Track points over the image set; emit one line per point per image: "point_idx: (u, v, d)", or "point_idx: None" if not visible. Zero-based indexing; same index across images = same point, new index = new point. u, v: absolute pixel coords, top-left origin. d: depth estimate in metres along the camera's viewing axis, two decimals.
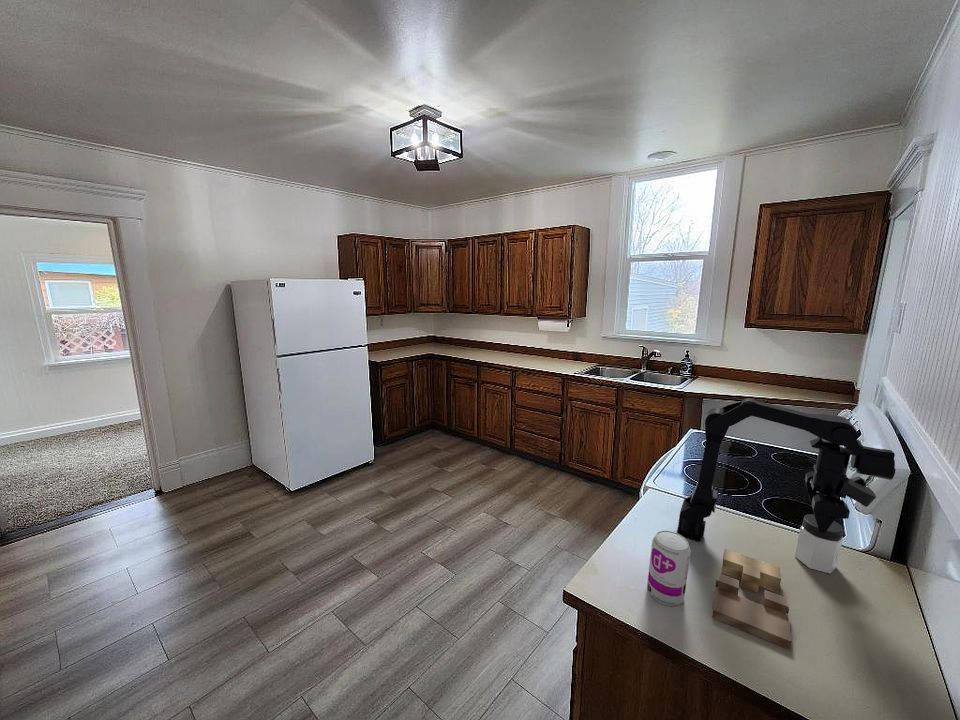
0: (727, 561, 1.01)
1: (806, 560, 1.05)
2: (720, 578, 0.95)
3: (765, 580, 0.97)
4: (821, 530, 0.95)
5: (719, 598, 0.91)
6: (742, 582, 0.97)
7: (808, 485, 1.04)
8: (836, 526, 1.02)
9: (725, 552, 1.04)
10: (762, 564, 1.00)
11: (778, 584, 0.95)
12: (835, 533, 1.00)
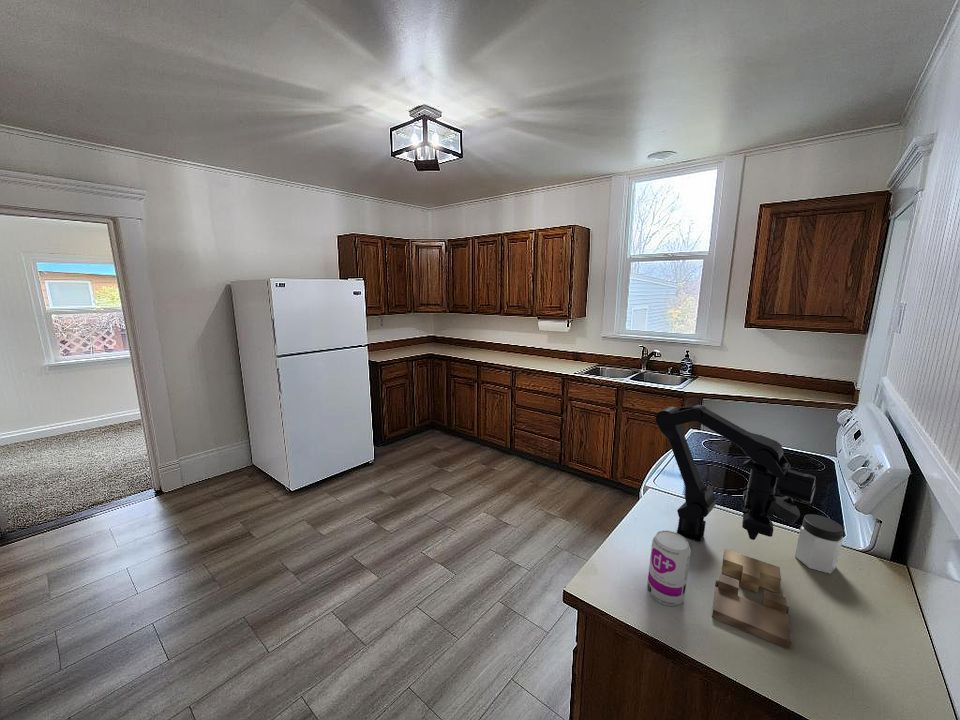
0: (727, 561, 1.01)
1: (806, 560, 1.05)
2: (720, 578, 0.95)
3: (765, 580, 0.97)
4: (751, 537, 1.05)
5: (719, 598, 0.91)
6: (742, 582, 0.97)
7: (744, 510, 1.07)
8: (836, 526, 1.02)
9: (725, 552, 1.04)
10: (762, 564, 1.00)
11: (778, 584, 0.95)
12: (835, 533, 1.00)
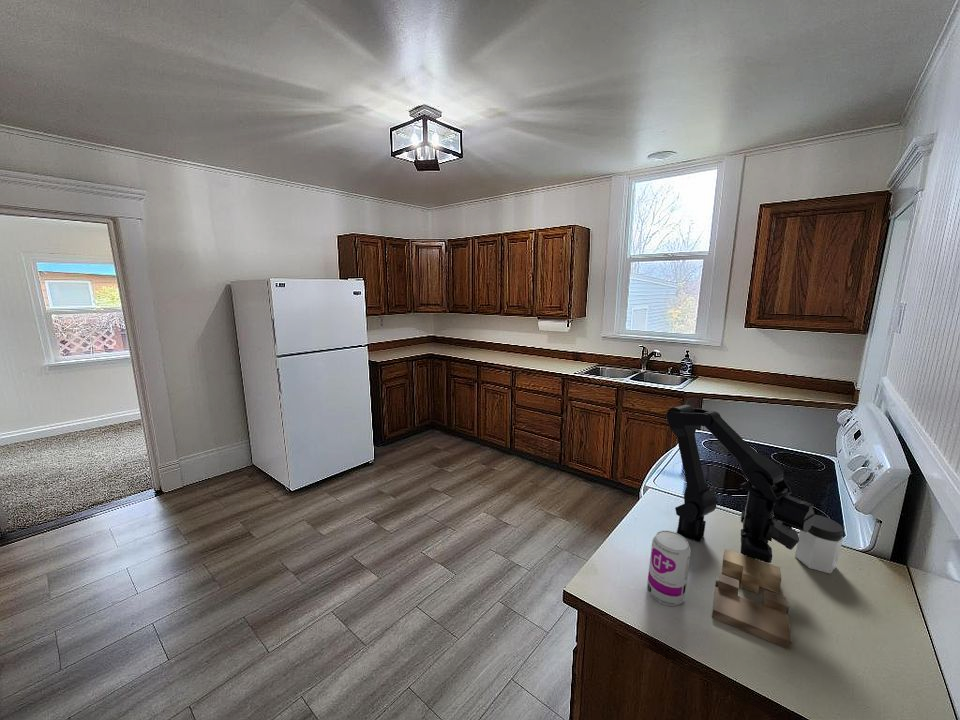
0: (727, 562, 1.01)
1: (806, 560, 1.05)
2: (720, 578, 0.95)
3: (766, 580, 0.96)
4: None
5: (719, 598, 0.91)
6: (742, 583, 0.97)
7: (742, 533, 1.05)
8: (836, 526, 1.02)
9: (725, 552, 1.04)
10: (762, 564, 0.99)
11: (778, 584, 0.95)
12: (835, 533, 1.00)
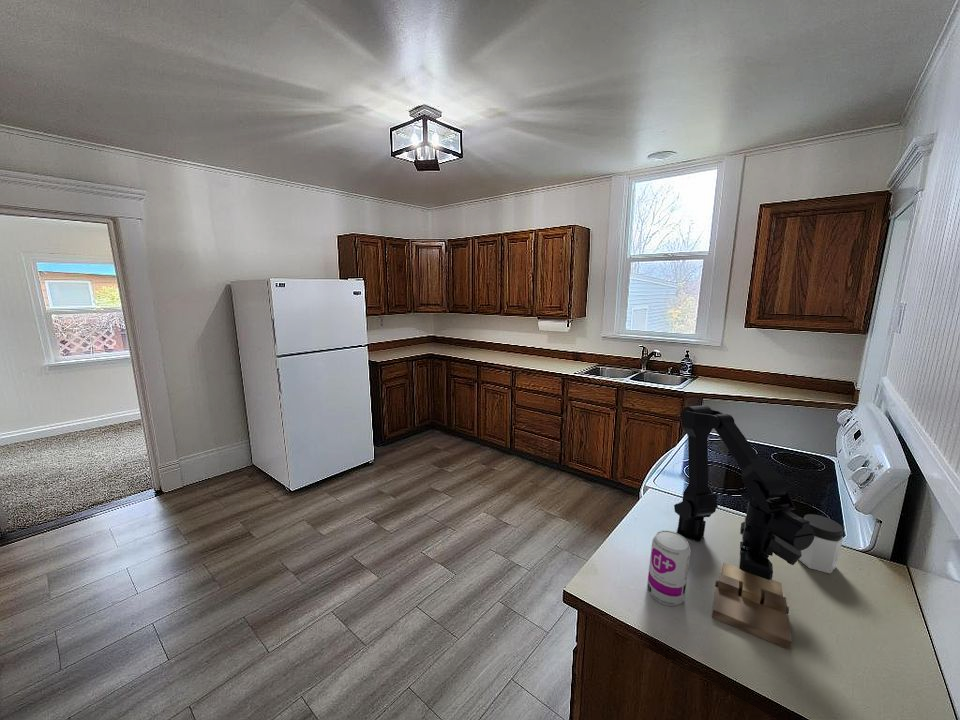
0: None
1: (806, 560, 1.05)
2: (720, 578, 0.95)
3: None
4: None
5: (719, 598, 0.91)
6: None
7: (742, 546, 0.99)
8: (836, 526, 1.02)
9: (724, 566, 0.98)
10: (763, 580, 0.94)
11: None
12: (835, 533, 1.00)
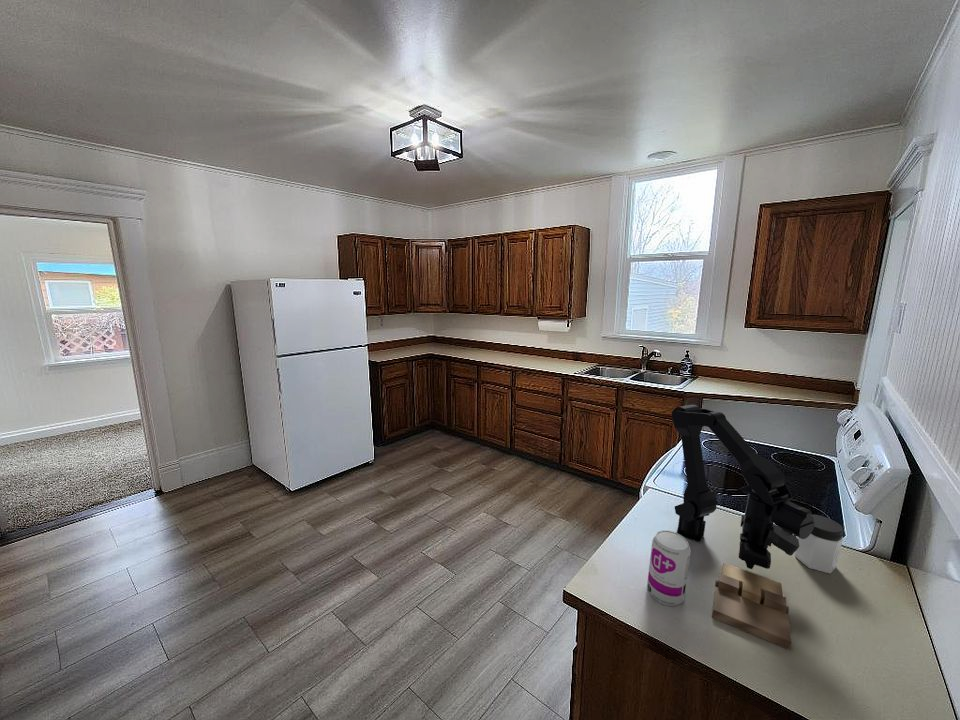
0: None
1: (806, 560, 1.05)
2: (720, 578, 0.95)
3: None
4: (748, 566, 1.01)
5: (719, 598, 0.91)
6: None
7: (742, 537, 1.03)
8: (836, 526, 1.02)
9: (724, 566, 0.99)
10: (763, 580, 0.94)
11: None
12: (835, 533, 1.00)
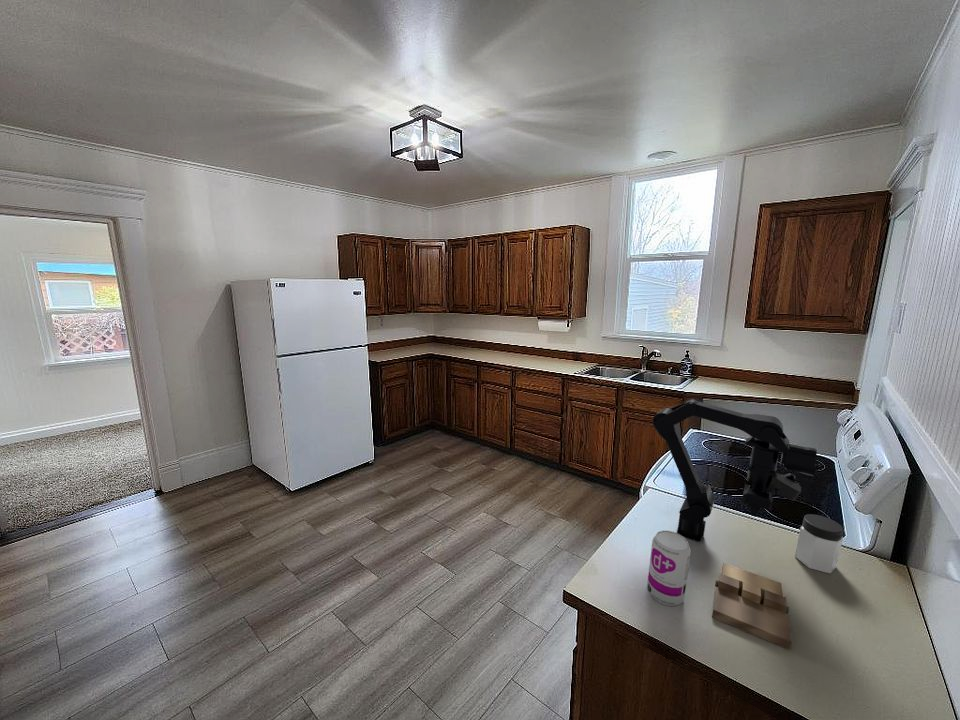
0: None
1: (806, 560, 1.05)
2: (720, 578, 0.95)
3: None
4: (753, 514, 1.06)
5: (719, 598, 0.91)
6: None
7: (747, 487, 1.08)
8: (836, 526, 1.02)
9: (724, 566, 0.99)
10: (763, 580, 0.94)
11: None
12: (835, 533, 1.00)
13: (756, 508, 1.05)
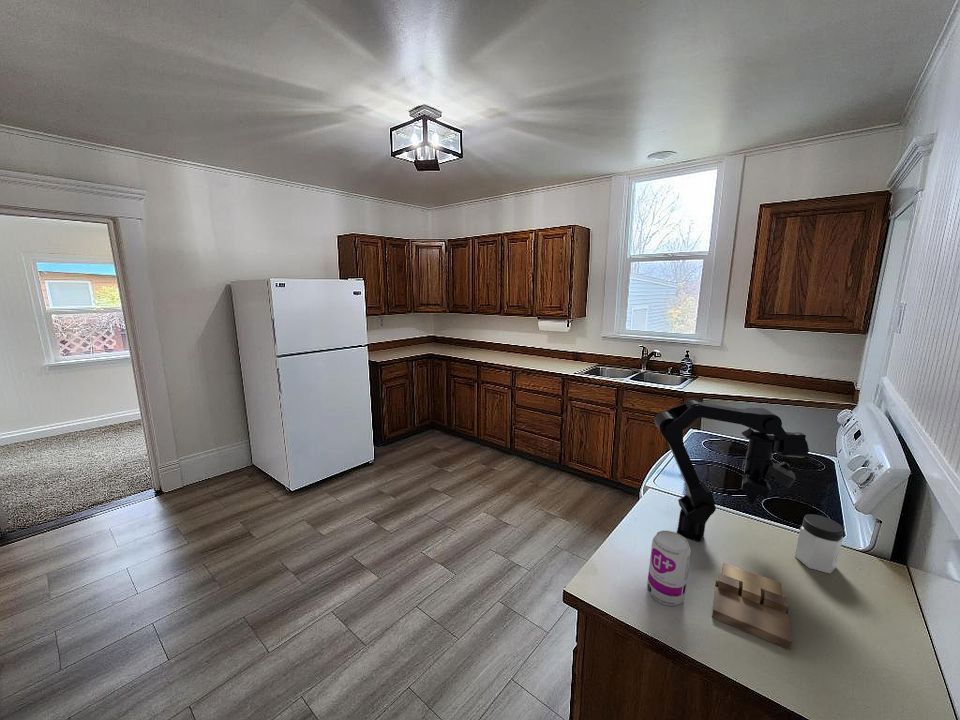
0: None
1: (806, 560, 1.05)
2: (720, 578, 0.95)
3: None
4: (750, 501, 1.12)
5: (719, 598, 0.91)
6: None
7: (744, 476, 1.14)
8: (836, 526, 1.02)
9: (724, 566, 0.99)
10: (763, 580, 0.94)
11: None
12: (835, 533, 1.00)
13: (753, 496, 1.11)
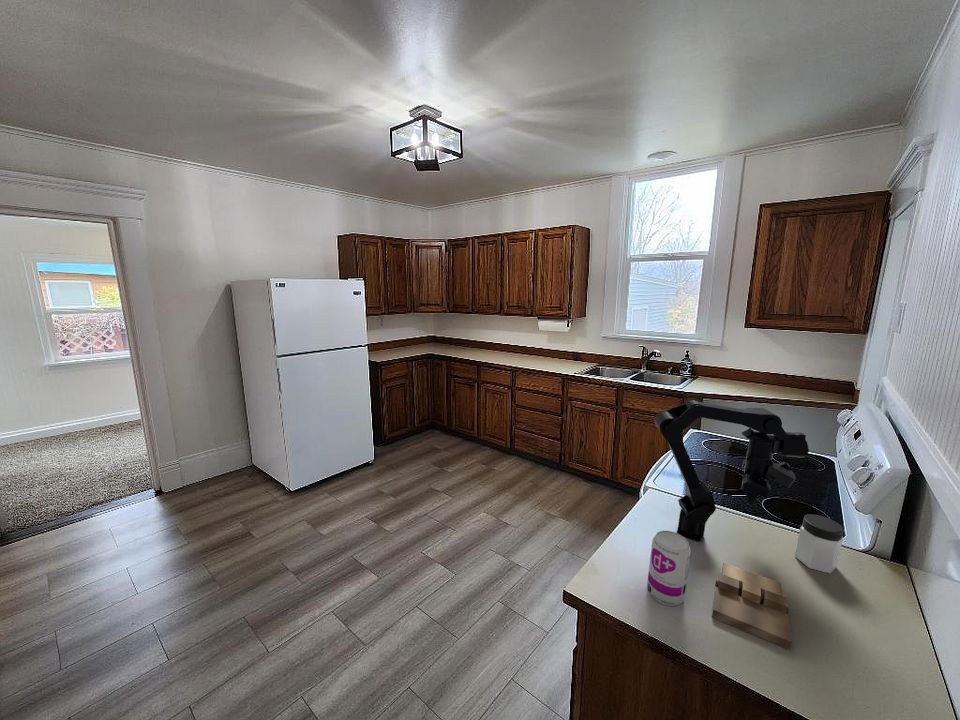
0: None
1: (806, 560, 1.05)
2: (720, 578, 0.95)
3: None
4: (750, 501, 1.12)
5: (719, 598, 0.91)
6: None
7: (744, 476, 1.14)
8: (836, 526, 1.02)
9: (724, 566, 0.99)
10: (763, 580, 0.94)
11: None
12: (835, 533, 1.00)
13: (753, 496, 1.11)
